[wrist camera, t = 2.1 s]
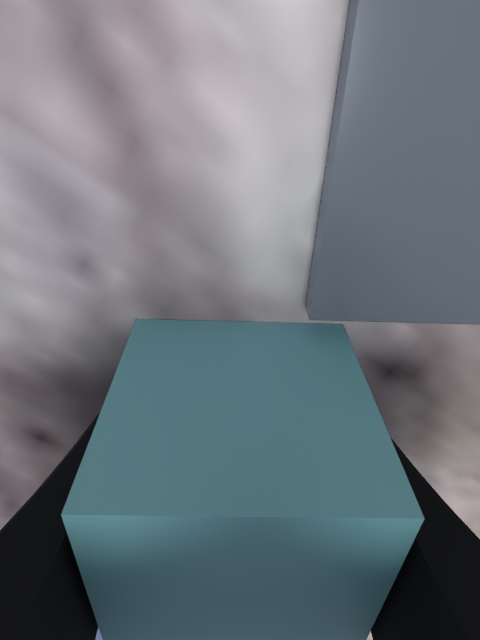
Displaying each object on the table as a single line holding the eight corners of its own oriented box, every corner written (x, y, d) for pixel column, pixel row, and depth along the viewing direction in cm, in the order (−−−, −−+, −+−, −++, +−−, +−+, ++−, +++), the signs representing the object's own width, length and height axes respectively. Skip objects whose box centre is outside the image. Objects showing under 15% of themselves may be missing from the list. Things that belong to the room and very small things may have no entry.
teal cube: (314, 459, 13) (355, 661, 8) (151, 457, 12) (109, 661, 8) (342, 324, 10) (424, 518, 6) (136, 318, 10) (61, 514, 5)
